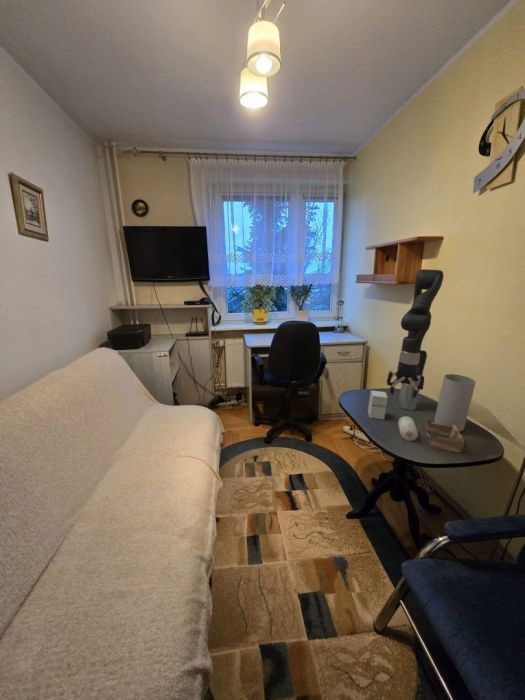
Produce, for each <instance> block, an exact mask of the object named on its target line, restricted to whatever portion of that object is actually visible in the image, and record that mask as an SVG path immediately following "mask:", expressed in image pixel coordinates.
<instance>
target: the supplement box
mask: <svg viewBox="0 0 525 700" xmlns="http://www.w3.org/2000/svg"><path fill="white" fill-rule="evenodd" d="M388 399H389V397H388V395H387V392H386V391H380V390H379V391H378V390H370V394H369V401H368V408H367V413H368V417H369V419H377V420H385V417H386V410H387V404H388Z"/></svg>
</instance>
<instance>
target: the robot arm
mask: <svg viewBox="0 0 525 700" xmlns="http://www.w3.org/2000/svg"><path fill="white" fill-rule="evenodd" d="M443 282H444V272H443V270H441V269H426V268H425V269H418V271H417V273H416V275H415V282H414V289H413V290H414V291H413V301H412V305H411V308H410V309H409V310H407V311H406V313H405V314H404V315H403V316H402V319H401V321H400V326H401V327H400V328H402V330H404V331H406V332H407V336H405V337H403V339H402V344H401V345H402V346H401V350H400V353H399V358H398V364H397V370H396V371H395V372H394V371H391V370H389V371H388V373H387V380H386V385H387V386H389V387H390V389H389V393H390V395H391V396H394V393H395V387H396V386H397V385H399V384H401V385H400V391H399V392H400V393H399V397H398V403H397V406H398V407H399V408H401V409H403V410H407V411H415V410H416V409H417V405H418V400H419V395H420V390H424V385H425V377H424V370H425V366H426V361H427V357H428V354H427V351H426V350H421V348H422V343H423V340H424V338H425V336H426V334H427V332H428V331H429V329H430V327H431V322H432V313H431V311H430V310H431V307H432V304H433V302H434V300H435V298H436V296H437V295H438V293H439V291H440V289H441V287H442V284H443ZM424 290H425V291H424ZM394 376H395V379H393V381H392V378H394Z"/></svg>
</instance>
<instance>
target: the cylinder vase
mask: <svg viewBox="0 0 525 700" xmlns="http://www.w3.org/2000/svg"><path fill="white" fill-rule="evenodd" d="M476 383H477V382H476V380H475V379H473V378H471V377H468V376H466V375H461V374H455V373H447V374H444V376H443V379H442V384H441V388H440V394H439V397H438V402H437V407H436V412H435V416H434V421H433V423H438V424H443V425H449V426H452V424H455V425H456V427H457V429H458V431H459V432H460V433H461V432H462V431H464V429H465V426H466V422H467V417H468V414H469V410H470V407H471V406H470V405H471V402H472V399H473V394H474V389H475V387H476Z"/></svg>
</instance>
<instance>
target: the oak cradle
mask: <svg viewBox="0 0 525 700" xmlns="http://www.w3.org/2000/svg"><path fill="white" fill-rule="evenodd" d="M426 421H427V422H426V426H425V431H424V432H425V434H426V436H427V440H428V442H429V444H430V447H431V448H432V449H436V450H441V451H442V450H443V451H446V450H448V451H447V452H452V451H455V452H454V453H457V452H462V453H463V449H464V445H465V440H464V437H463V436H462V434H461V431H460V432H459V431H458V429H457V427H456V425H455V424H452V426H449V425H443V424H438V423H435V422H432V420H431V419H430V418H427V420H426ZM430 434H433V435H432V438H431V435H430ZM438 435H439V437H438ZM440 436H446V437H450V439H449V438H445V437H440Z"/></svg>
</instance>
